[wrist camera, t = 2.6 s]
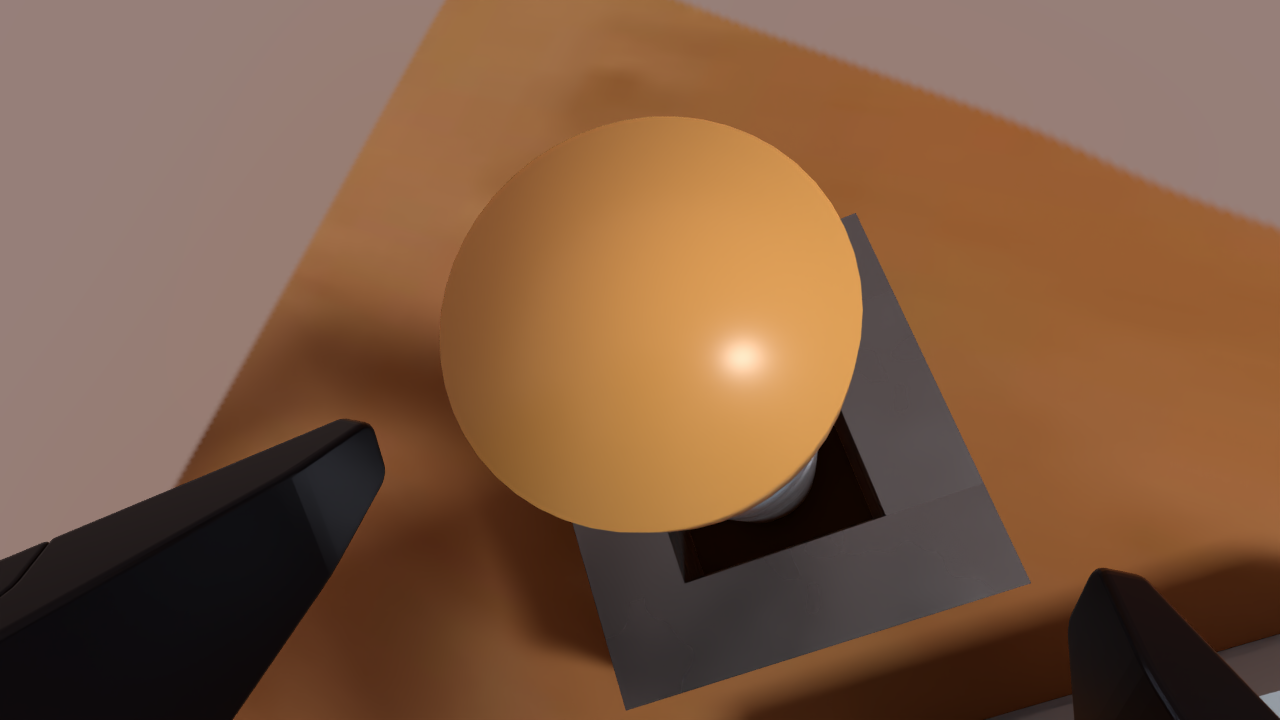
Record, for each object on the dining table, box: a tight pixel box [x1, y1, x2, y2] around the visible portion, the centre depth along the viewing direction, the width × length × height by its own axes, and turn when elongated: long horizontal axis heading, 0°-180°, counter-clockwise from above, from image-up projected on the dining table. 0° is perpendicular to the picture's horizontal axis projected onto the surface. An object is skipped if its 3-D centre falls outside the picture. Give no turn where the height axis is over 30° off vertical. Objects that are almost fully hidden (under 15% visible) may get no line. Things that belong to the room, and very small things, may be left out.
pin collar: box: [573, 213, 1031, 710], centre depth 17 cm, size 8×8×3 cm
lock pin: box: [439, 116, 863, 533], centre depth 12 cm, size 3×3×13 cm
